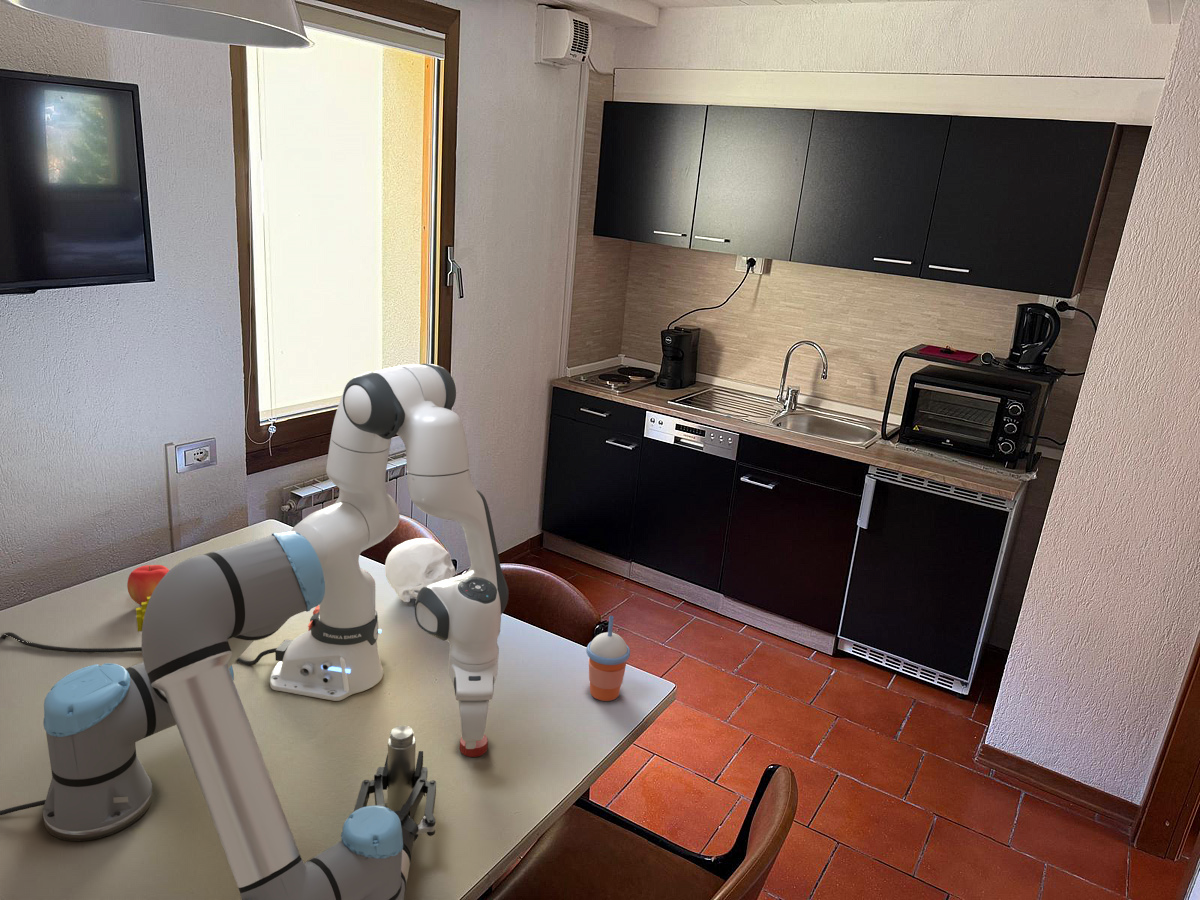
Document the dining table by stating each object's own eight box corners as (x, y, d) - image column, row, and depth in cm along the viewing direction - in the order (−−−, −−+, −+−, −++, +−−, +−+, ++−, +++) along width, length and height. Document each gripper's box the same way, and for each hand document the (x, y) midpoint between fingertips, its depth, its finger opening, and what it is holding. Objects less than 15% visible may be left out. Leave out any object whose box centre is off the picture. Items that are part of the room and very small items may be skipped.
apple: (178, 610, 199) (175, 571, 196) (132, 618, 194) (128, 578, 191) (171, 592, 207) (168, 555, 204) (127, 600, 202) (123, 562, 199)
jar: (389, 800, 145) (389, 723, 141) (415, 800, 146) (417, 723, 141) (385, 818, 141) (386, 740, 136) (412, 818, 141) (414, 740, 137)
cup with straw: (621, 709, 175) (629, 631, 170) (578, 700, 177) (585, 623, 172) (629, 685, 184) (636, 610, 179) (588, 677, 185) (594, 603, 180)
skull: (448, 622, 203) (451, 561, 199) (372, 599, 211) (374, 540, 207) (477, 602, 215) (480, 543, 211) (405, 581, 223) (406, 524, 219)
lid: (489, 755, 158) (490, 746, 158) (461, 759, 157) (462, 750, 156) (484, 738, 163) (485, 729, 163) (457, 741, 161) (457, 733, 161)
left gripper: (323, 881, 125) (353, 775, 147) (444, 881, 126) (456, 776, 149) (322, 839, 122) (353, 738, 145) (445, 840, 124) (457, 739, 146)
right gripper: (454, 635, 164) (451, 697, 168) (456, 698, 144) (452, 766, 149) (488, 635, 165) (484, 697, 169) (493, 697, 146) (489, 765, 150)
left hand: (405, 757), depth 146 cm, fingers closed on jar, 4 cm apart
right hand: (469, 730), depth 159 cm, fingers open, 8 cm apart
